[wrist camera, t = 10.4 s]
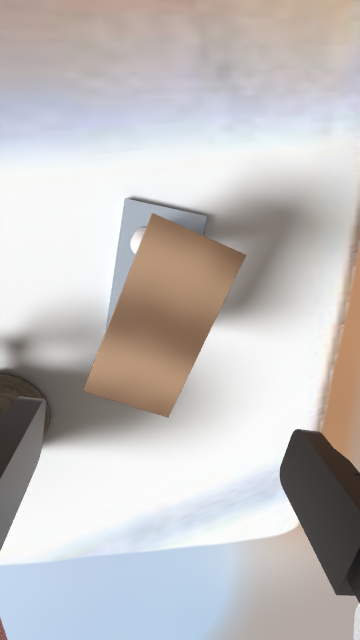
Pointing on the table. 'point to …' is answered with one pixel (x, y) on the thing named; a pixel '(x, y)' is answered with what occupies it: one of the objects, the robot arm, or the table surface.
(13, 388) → the beer stein
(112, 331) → the brown wooden block
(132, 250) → the peg stand
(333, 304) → the table surface
